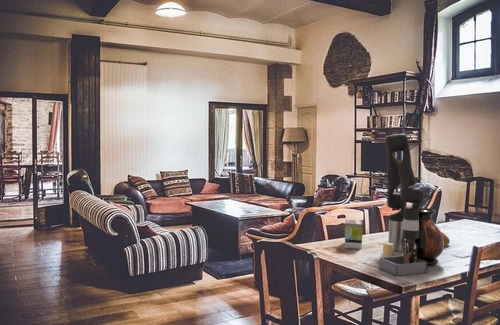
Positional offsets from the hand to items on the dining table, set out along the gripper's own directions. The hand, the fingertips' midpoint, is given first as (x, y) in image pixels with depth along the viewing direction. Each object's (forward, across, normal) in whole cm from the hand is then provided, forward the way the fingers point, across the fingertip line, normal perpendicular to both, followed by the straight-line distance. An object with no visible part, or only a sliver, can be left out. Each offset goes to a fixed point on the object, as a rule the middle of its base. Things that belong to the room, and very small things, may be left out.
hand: (409, 262), depth 229 cm
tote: (+4, -1, +4) cm, 6 cm away
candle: (+4, +13, +7) cm, 15 cm away
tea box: (+4, +51, +16) cm, 54 cm away
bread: (+4, +63, -28) cm, 69 cm away
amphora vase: (+4, +15, -11) cm, 20 cm away
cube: (+1, 0, 0) cm, 1 cm away
